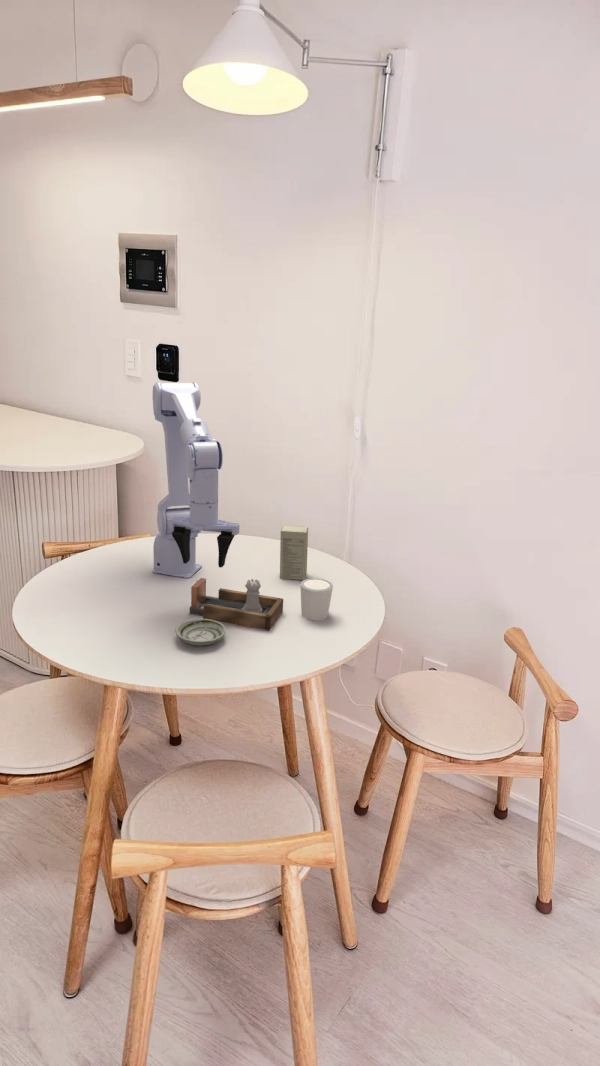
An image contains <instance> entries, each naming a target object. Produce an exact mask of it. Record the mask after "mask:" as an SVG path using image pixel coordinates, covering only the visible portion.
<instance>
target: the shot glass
mask: <svg viewBox="0 0 600 1066" xmlns="http://www.w3.org/2000/svg"><path fill="white" fill-rule="evenodd" d="M299 587H300V608H301V609H300V610H301V616H302V617H303V618H305V619H307V620H311V621H321V620H325V619H326V617H327V618H328V616H329V609H330V606H331V601H332V600H331V598H332V594H333V587H334V585H333V583H332V582H331V581H329V580H326V579H324V578H318V577H315V578H306V579H305V580H301V582H300V583H299Z"/></svg>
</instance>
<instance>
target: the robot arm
mask: <svg viewBox="0 0 600 1066" xmlns="http://www.w3.org/2000/svg"><path fill="white" fill-rule="evenodd" d="M152 386H153V387H152V408H153V416H154V420H155V421H157V422H159V423H161V425H162V428H163V432H164V443H165V445H164V447H165V460H166V461H165V462H166V471H167V473H166V474H167V488H168V489H167V490H168V494H167V495H166V496H164V497H163V498H162V499H161V500H160V501H159V502H158V504H157V517H156V519H157V520H156V521H157V530H158V533H157V534H156V536H155V537H154V540H153V569H152V573H155V574H160V573H161V575H166V576H172V577H179V578H185V579H190V578H191V577H192V576H193V575H194V574H196V572H198V571H199V570H200V569H201V568H202V567H203V565H202V564H201V563H197V562H196V559H197V556H196V554H197V551H196V550H197V547H196V546H197V544H196V543H197V539H196V538H197V537H198V536H199V534H200V533H201V532H202V531H203V532H211V533H212V532H213V533H220V534H219V535H217V536H216V541H217V550H218V558H217V559H218V561H217V562H218V563H217V564H218V566H217V567H218V568H223V567H224V566H225V565H226V559H227V555H228V551H229V550H230V546H231V544H232V542H233V539H234V538H235V536H237V535H239V533H240V523H237V522H232V521H226V520H222V519H219V470H221V469H222V466H223V458H224V457H223V448H222V444H221V442H220V440H218V439H217V440H216V438H212V434H211V432H210V430H209V427H208V425H207V423H206V421H204V419H202V418H199V414H198V410H199V409H200V406H201V389H200V386H199V385H198V383H197V382H195V381H193V382H159V381H156V382H155V383H154V384H153V385H152ZM181 506H182V507H181ZM183 506H185V507H183ZM186 506H189V507H186ZM170 507H172V508H170ZM173 507H175V508H173ZM177 507H178V508H177Z"/></svg>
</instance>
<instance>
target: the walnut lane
mask: <svg viewBox="0 0 600 1066" xmlns="http://www.w3.org/2000/svg"><path fill="white" fill-rule="evenodd" d="M246 592H247V591H239V590H233V589H228V588H222V587H221V588H219V589H218V595H217V596H218V597H217V598H223V599H229V600H234V601H240V602H246V599H247V593H246ZM259 604H260V605H264V606H270V607H272V608H271V609H270V611H269V612H268V613H267V614H263V612H262V613H256V612H251V611H245V610H242V609H240V608H234V607H228V606H223V605H217V604H211V603H205V604H204V605H203V606H202V608H203V615H202V617H203V618H202V619H211V620H215V621H218V622H220V623H223V624H224V623H225V624H230V625H236V626H241V627H248V628H253V629H259V630H264V631H270V630H272V627H274V624H276V622H277V620H278V619H279V618H280V617H281V615H282V614H283V611H284V598H282V597H281V598H280V597H277V596H276V597H275V596H271V595H270V596H269V595H263V594H259Z"/></svg>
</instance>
